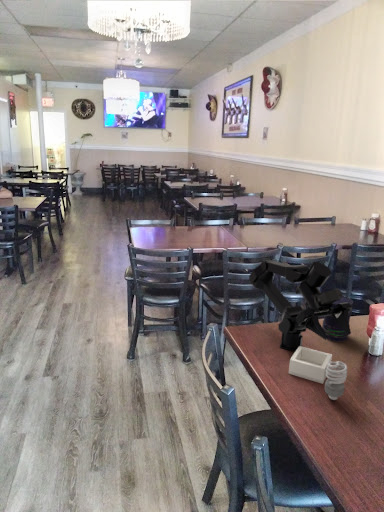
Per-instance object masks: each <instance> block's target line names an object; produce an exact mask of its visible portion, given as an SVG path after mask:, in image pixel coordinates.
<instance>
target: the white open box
mask: <svg viewBox="0 0 384 512" xmlns="http://www.w3.org/2000/svg"><path fill="white" fill-rule="evenodd" d="M332 357H333V354H332V353H328V352H324V351H320V350H316V349H312V348H309V347H305V346H303V345H302V346H299V347H298V349H297V350H296V351H294V352H293V354H292V356H291V358H290V359H289V364H288V365H289V366H288V374H289V375H293V376H296V377H299V378H302V379H306V380H309V381H311V382H316V383H319V384H325V381H326V378H327V377H326V370H327V366H328V365H327V364H328V362H332V359H333V358H332ZM330 365H332V364H330Z"/></svg>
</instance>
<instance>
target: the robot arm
mask: <svg viewBox="0 0 384 512" xmlns="http://www.w3.org/2000/svg"><path fill="white" fill-rule="evenodd" d="M311 263H312V264H311V265H310V267H309V265H307V264H300V265H299V264H297V265H296V264H295V265H292V264H288V263H284V262H280V261H276V260H275V259H274V260H273V259H269V260H267V259H266V260H263V261H261V263H260V264H259V265H258V266H256V267H255V268H254V269H253V270H252V271H251V273H250V274H249V278H248V280H249V282H250V284H251V285H252V286H253V287H254V288H255V289H258V290H261V291H263V293H264V294H265V296H266V297H267V298H268V299H269V300H270V302H271V303H272V304H273V305H274V307H275V308H276V309H277V310H278V312H279V313H280V314H281V322H279V323H278V324H277V325H278V327H277V328H278V331H279V332H281V341H280V344H279V348H281V349H284V350H288V351H292V352H295V351H296V350H297V349H298V347H299V346H302V347H303V340H304V339H303V338H304V336H303V335H302V333H303V332H304V333H306V331H307V330H309V331H310V332H312V333H314V334H316V335H317V336H319V337H320V338H322V339H324V340H328V339H327V335H326V333H325V331H324V330H323V328H322V325H321V323H320V320H319V318H324V316H330V315H332V316H333V318H335V319H336V320H335V322H336V323H337V324H338V325H339V326H340V327H341V328H342V329H343V330H344V331H345V332H346V333H347V334H348V336H350V335H351V333H352V331H351V328H350V326H349V325H350V321H349V322H348V314H349V313H350V311H351V309H352V310H353V306H352V307H351V305H350V304H349V303H347V302H345V303H339V304H337V306H336V307H335V308H334V309H331V307H332V306H333V305H334V303H333V302H335V301H339V300H340V298H342V296H343V292H342V291H341V290H340V289H339V287H338V288H334V289H331V290H330V291H329V290H327V291H325V292H322V291H321V290H320V288H321V287H323V286H324V284H325V283H326V282H327V280H328V279H329V278H330V276H331V275H332V270H331V268H330V267H328V266H327V265H325V264H324V263H321V262H320V261H319V260H316V261H313V262H311ZM275 274H276V275H280V276H283V277H284V278H285V280H286V281H288V282H290V283H291V284H297V283H300V284H299V285H296V290H295V294H296V295H299V294H301V296H302V297H303V299H304V300H305V302H306V303H304V306H305V307H306V308H302V306H300V305H297V306H295V305H294V306H293V305H292V304H291V302H289V300H288V299H287V298H286V296H285V295H284V294H283V293H282V292H281V290H280V289H279V288H278V287H277V286H276V285H275V283H274V276H275Z"/></svg>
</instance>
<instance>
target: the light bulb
mask: <svg viewBox="0 0 384 512" xmlns="http://www.w3.org/2000/svg"><path fill="white" fill-rule="evenodd" d="M330 364H331V365H330ZM327 365H328V366H327V370H326V378H327V379H325V380H324V391H325V394H326V395H328V397H329V399H330V400H332V401H336V400H338V399H339V398H340V397H342V396H343V395H344V392H345V387H346V386H345V384H344V383H345V382H346V380H347V377H348V365H347V364H346V363H345V362H343V361H341V360H340V361H339V360H337V361H331V362H328V364H327Z"/></svg>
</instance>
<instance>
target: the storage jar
mask: <svg viewBox="0 0 384 512" xmlns="http://www.w3.org/2000/svg"><path fill="white" fill-rule="evenodd" d="M345 302H347V303H349V304H350V305H351V307H352V309H351V311H350V313H349V314H348V322H349V323H350V320H351V319H350V318H351V316H352V311H353V304H354V301H353V300H352V298H349V297H346V296H342V298H340V300H339V301H335V302H333V303H334V305H333V306H332V307H331V309H334V308H335V307H336V306H337V304H339V303H345ZM335 320H336V319H335V318H333V316H332V315H330V316H324V317H323V320H322V325H321V326H322V328H323V330H324V331H325V333H326V335H327V339H326V340H329V341H331V342H339V343H341V342H346V341H348V339H349V335H348V334H347V333H346V332H345V331H344V330H343V329H342V328H341V327H340V326H339V325H338V324H337V323H336V322H335ZM349 326H350V324H349Z"/></svg>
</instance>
